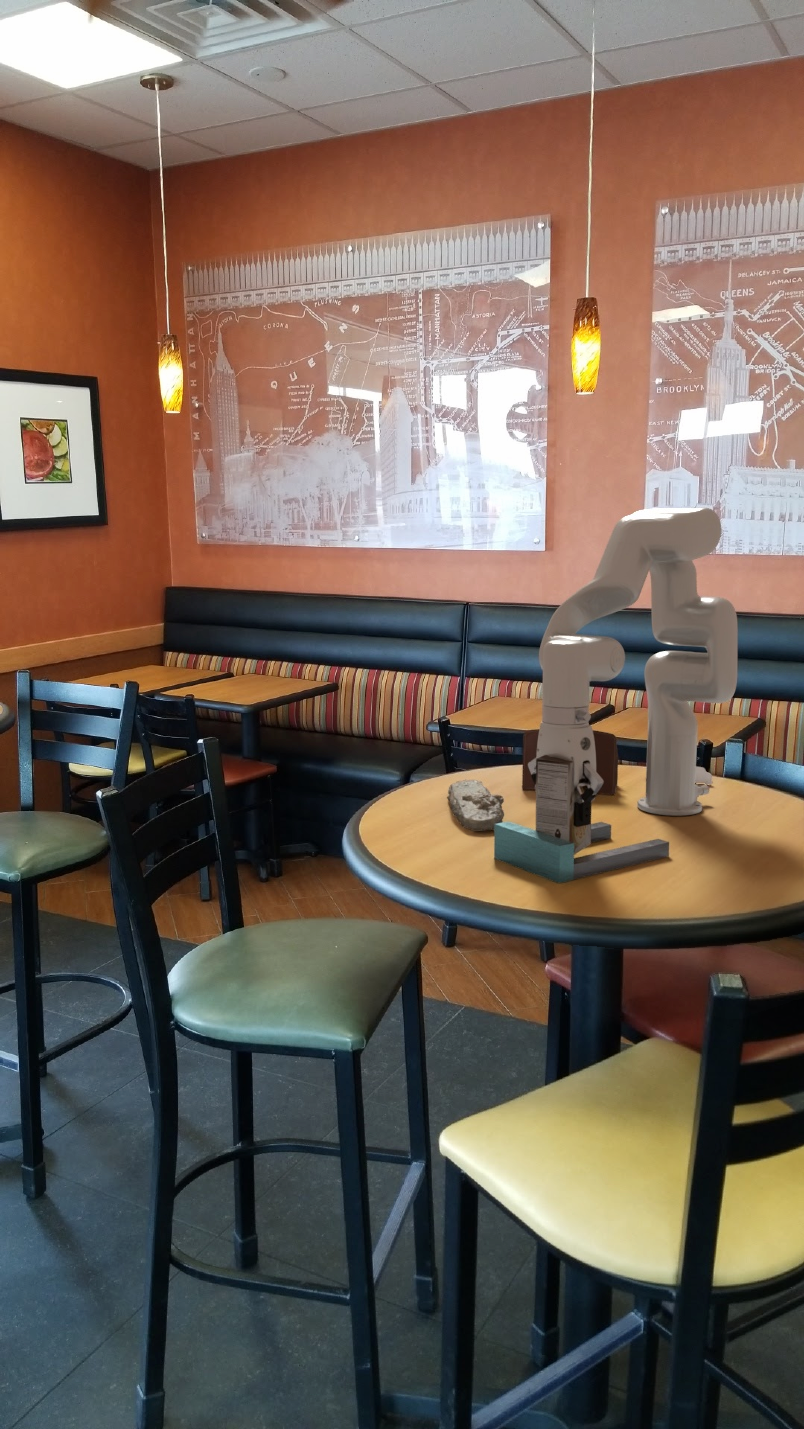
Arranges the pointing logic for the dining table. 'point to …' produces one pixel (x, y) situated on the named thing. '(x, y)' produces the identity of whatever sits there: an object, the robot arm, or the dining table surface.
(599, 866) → the keeper channel
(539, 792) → the coffee box
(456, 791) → the elongated rock
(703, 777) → the car cutout
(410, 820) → the dining table surface
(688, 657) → the robot arm
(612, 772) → the letter holder
